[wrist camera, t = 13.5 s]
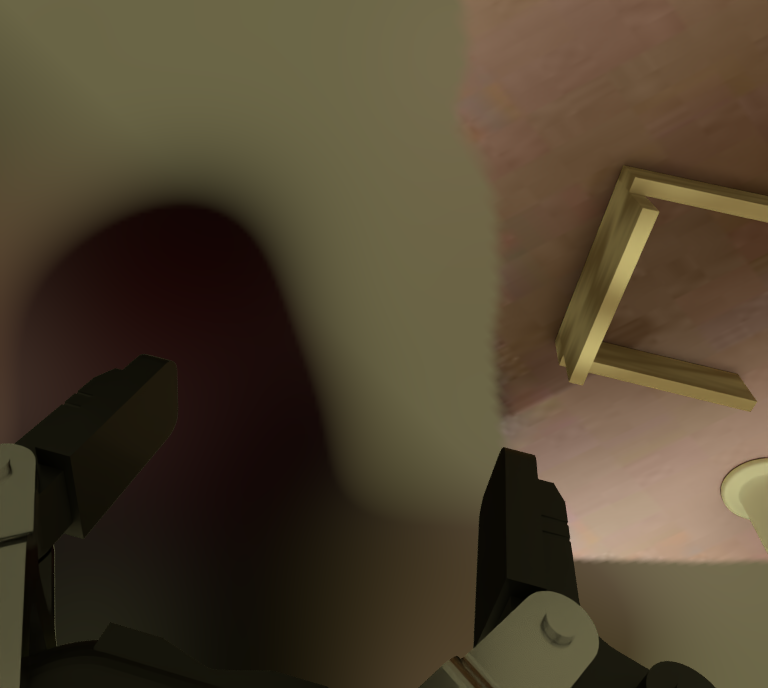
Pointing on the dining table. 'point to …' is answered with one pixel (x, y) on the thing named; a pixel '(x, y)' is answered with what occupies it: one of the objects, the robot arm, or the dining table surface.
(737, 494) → the candle
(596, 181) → the dining table surface
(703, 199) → the cubby
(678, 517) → the dining table surface
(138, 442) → the robot arm
